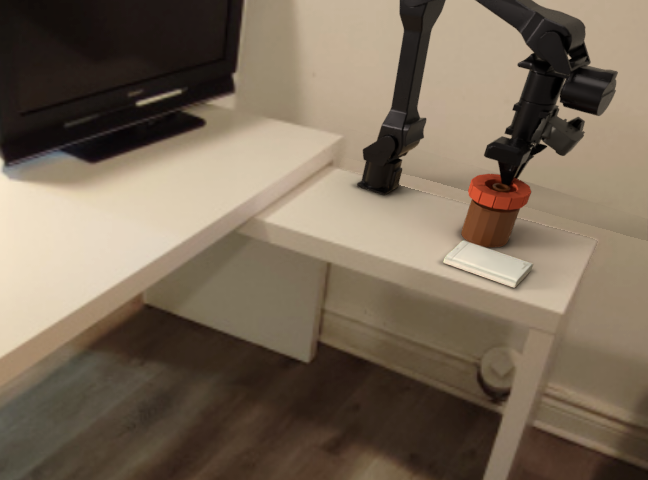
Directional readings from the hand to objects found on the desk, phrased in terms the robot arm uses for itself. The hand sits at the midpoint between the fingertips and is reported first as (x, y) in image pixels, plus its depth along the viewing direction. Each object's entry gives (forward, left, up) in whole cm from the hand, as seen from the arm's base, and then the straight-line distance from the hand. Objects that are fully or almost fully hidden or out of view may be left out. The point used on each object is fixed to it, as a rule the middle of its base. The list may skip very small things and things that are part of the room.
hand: (508, 185), depth 144 cm
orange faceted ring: (0, -4, -1) cm, 4 cm away
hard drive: (+5, -14, -9) cm, 18 cm away
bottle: (0, -4, -9) cm, 10 cm away
